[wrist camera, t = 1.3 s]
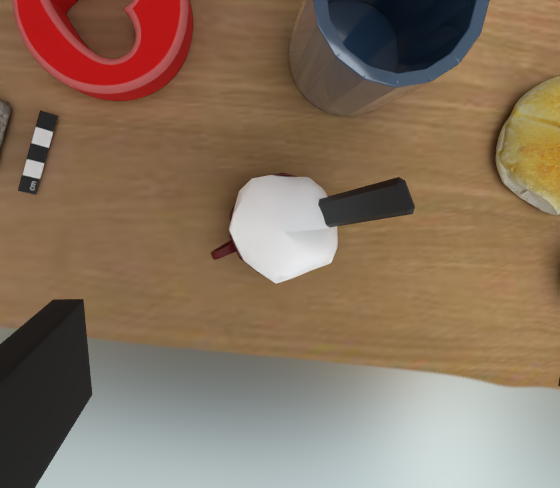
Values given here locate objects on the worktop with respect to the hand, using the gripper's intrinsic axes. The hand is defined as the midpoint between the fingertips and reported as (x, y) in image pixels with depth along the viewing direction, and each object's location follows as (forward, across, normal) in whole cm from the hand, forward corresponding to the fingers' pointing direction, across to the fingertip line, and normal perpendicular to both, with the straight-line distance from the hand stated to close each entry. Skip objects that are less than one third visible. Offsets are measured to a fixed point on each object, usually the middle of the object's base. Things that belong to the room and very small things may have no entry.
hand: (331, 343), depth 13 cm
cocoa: (+20, 0, 0) cm, 20 cm away
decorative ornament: (+21, -11, +12) cm, 26 cm away
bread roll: (+21, +18, +4) cm, 28 cm away
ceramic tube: (+21, +4, +10) cm, 24 cm away
